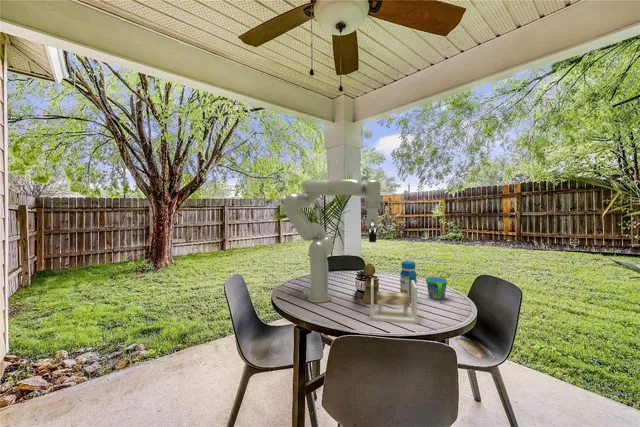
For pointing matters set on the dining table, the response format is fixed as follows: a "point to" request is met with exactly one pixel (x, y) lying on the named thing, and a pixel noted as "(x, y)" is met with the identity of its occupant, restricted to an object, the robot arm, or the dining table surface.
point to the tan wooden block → (393, 298)
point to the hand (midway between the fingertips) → (372, 240)
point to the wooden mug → (370, 271)
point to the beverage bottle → (407, 277)
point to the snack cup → (436, 287)
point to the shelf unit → (395, 314)
